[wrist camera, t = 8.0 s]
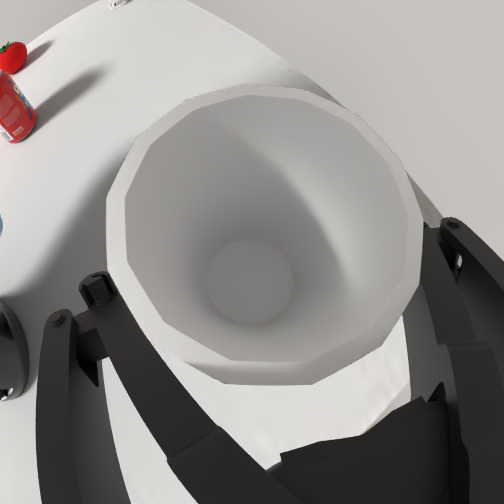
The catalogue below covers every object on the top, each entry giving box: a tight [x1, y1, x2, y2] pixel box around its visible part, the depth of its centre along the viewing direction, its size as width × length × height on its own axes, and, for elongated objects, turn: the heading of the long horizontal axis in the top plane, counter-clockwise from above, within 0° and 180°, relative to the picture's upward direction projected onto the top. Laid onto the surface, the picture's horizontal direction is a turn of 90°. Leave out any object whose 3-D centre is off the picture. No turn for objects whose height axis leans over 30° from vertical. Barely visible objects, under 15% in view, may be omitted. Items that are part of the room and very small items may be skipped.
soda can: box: [0, 69, 37, 143], centre depth 31 cm, size 8×8×15 cm
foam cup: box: [106, 84, 423, 385], centre depth 14 cm, size 10×9×13 cm
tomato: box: [0, 42, 27, 75], centre depth 40 cm, size 10×10×10 cm
